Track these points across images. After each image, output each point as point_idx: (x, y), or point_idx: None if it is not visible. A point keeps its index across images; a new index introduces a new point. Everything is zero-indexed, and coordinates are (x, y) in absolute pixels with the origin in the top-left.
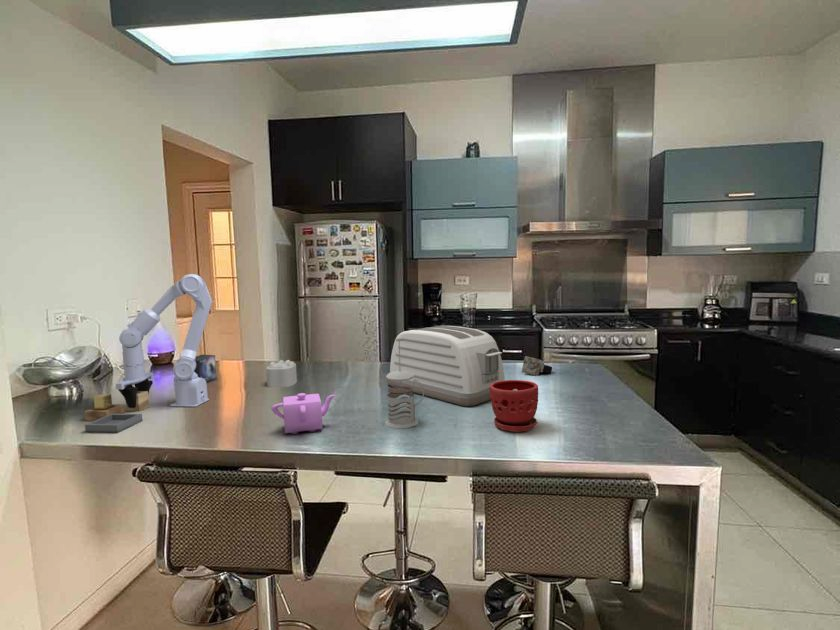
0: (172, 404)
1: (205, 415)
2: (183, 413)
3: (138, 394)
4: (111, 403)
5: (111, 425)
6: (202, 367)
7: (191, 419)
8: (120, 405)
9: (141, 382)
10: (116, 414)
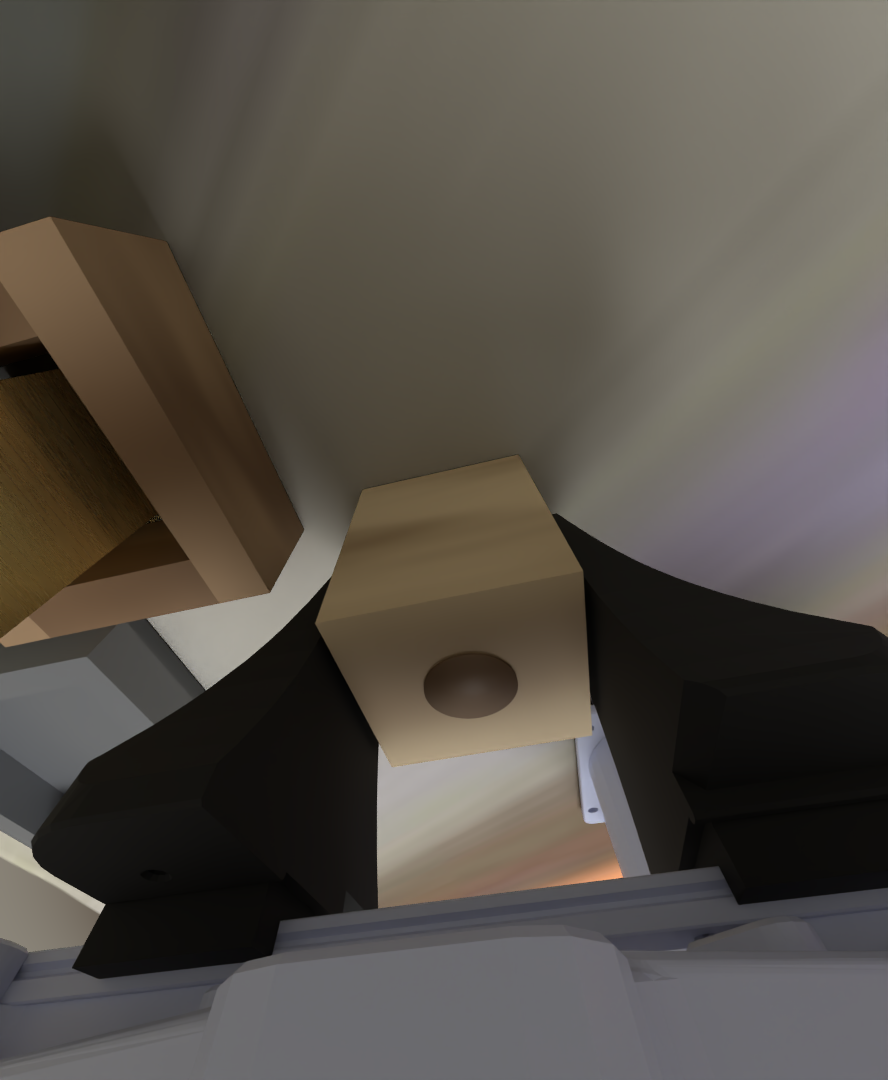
0: (593, 722)
1: (466, 887)
2: (465, 825)
3: (418, 751)
4: (94, 558)
5: (8, 833)
6: None
7: (401, 881)
8: (224, 595)
9: (683, 852)
10: (111, 708)
